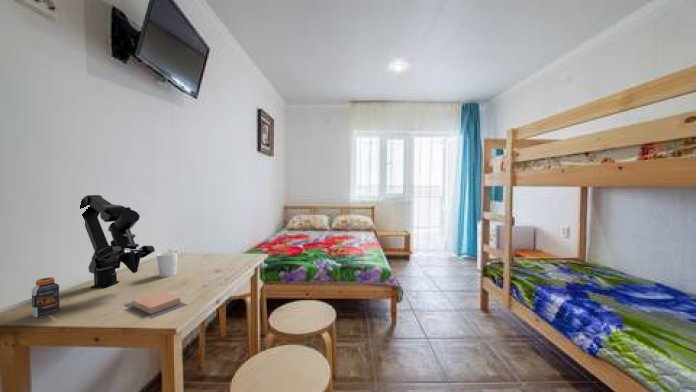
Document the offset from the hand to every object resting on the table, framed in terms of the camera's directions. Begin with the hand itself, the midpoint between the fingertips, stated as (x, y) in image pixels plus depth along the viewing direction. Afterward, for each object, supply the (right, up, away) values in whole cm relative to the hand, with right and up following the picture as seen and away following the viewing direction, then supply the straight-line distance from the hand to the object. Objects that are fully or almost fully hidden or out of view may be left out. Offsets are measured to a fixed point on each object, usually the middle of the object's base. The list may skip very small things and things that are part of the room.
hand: (135, 272), depth 102 cm
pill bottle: (-18, -10, -13) cm, 24 cm away
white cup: (-3, -8, +24) cm, 25 cm away
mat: (+13, -9, -8) cm, 18 cm away
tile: (+9, -7, -6) cm, 13 cm away
